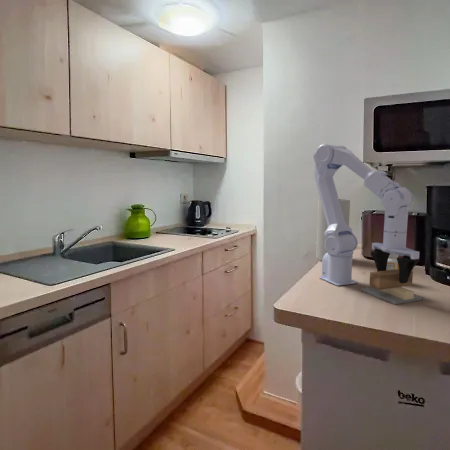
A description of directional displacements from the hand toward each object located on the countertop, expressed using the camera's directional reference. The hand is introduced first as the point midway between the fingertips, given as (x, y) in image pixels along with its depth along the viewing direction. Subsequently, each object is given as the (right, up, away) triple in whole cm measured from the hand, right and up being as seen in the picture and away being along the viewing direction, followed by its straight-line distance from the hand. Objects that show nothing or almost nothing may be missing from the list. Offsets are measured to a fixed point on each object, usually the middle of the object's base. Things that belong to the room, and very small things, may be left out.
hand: (392, 279), depth 95 cm
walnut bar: (0, -2, 0) cm, 2 cm away
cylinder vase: (-3, +1, +45) cm, 45 cm away
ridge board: (0, -5, +1) cm, 5 cm away
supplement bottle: (+7, -3, +15) cm, 16 cm away
